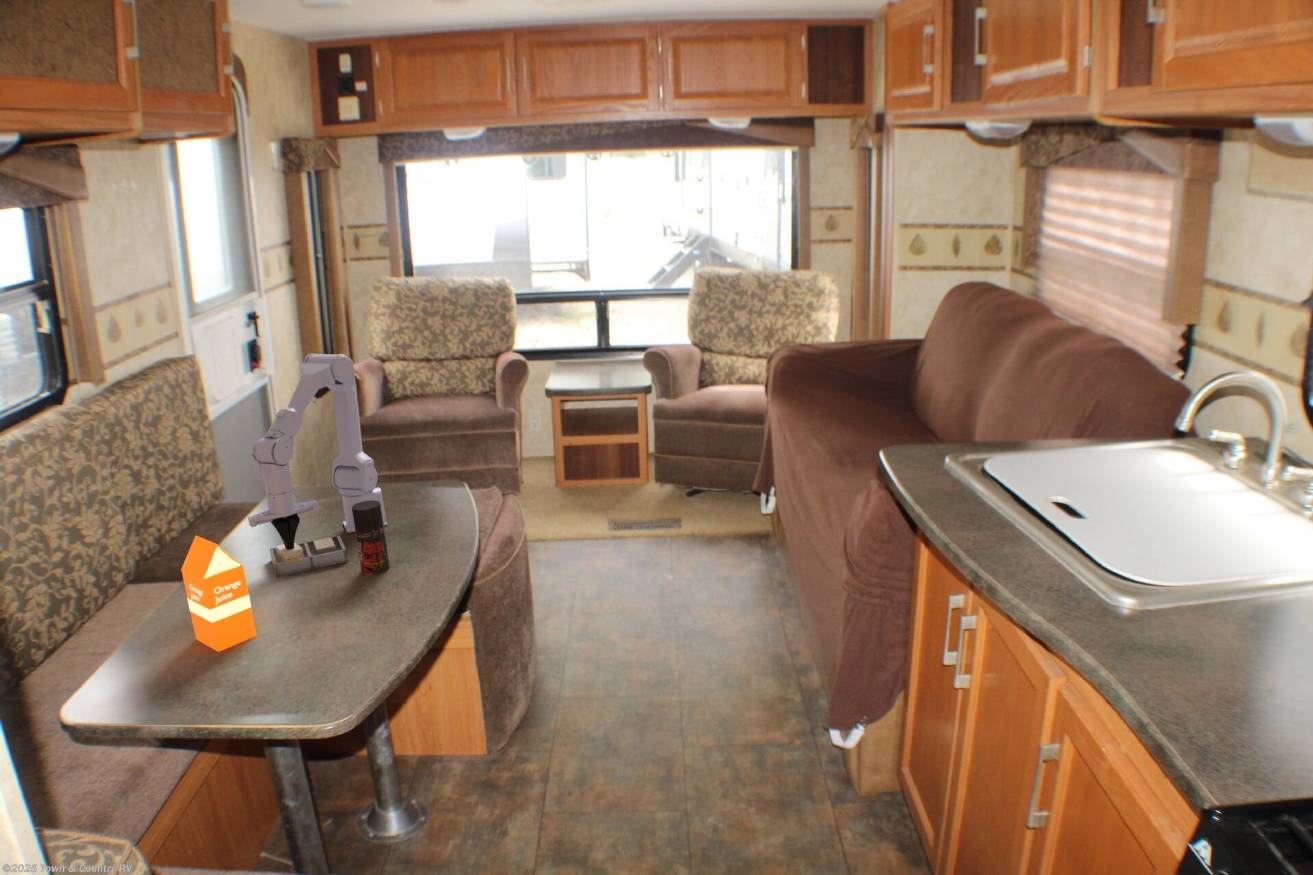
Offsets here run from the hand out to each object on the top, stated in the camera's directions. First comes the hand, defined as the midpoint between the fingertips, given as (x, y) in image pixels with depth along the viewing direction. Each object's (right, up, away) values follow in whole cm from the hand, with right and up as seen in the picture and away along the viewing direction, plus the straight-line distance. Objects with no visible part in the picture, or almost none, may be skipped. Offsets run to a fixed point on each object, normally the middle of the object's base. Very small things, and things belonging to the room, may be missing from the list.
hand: (289, 547), depth 212 cm
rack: (+4, -3, +3) cm, 5 cm away
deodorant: (+21, -4, -4) cm, 21 cm away
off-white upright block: (0, -3, +1) cm, 4 cm away
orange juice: (0, -14, -32) cm, 34 cm away
